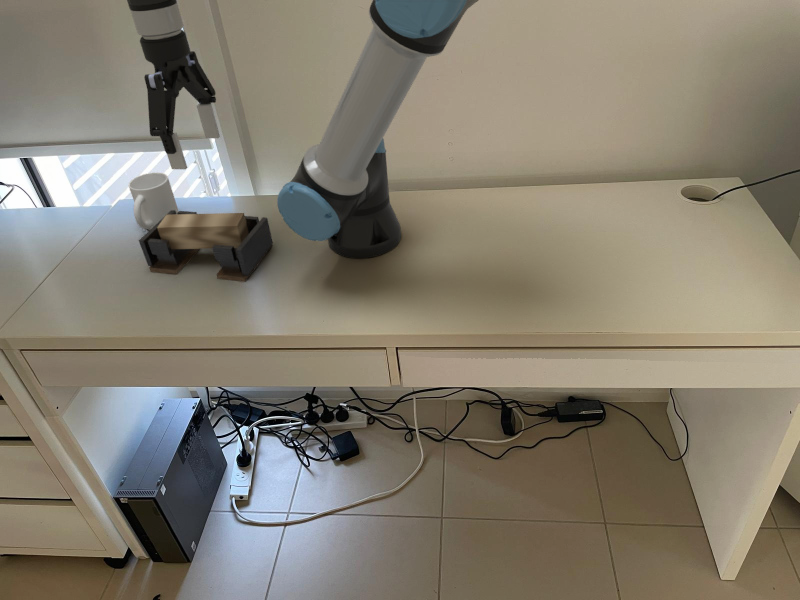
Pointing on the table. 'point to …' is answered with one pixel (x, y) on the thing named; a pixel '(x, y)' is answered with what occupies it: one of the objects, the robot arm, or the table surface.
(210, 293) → the table surface
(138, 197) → the mug
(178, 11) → the robot arm
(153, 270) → the brackets
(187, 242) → the rail
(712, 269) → the table surface
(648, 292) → the table surface
